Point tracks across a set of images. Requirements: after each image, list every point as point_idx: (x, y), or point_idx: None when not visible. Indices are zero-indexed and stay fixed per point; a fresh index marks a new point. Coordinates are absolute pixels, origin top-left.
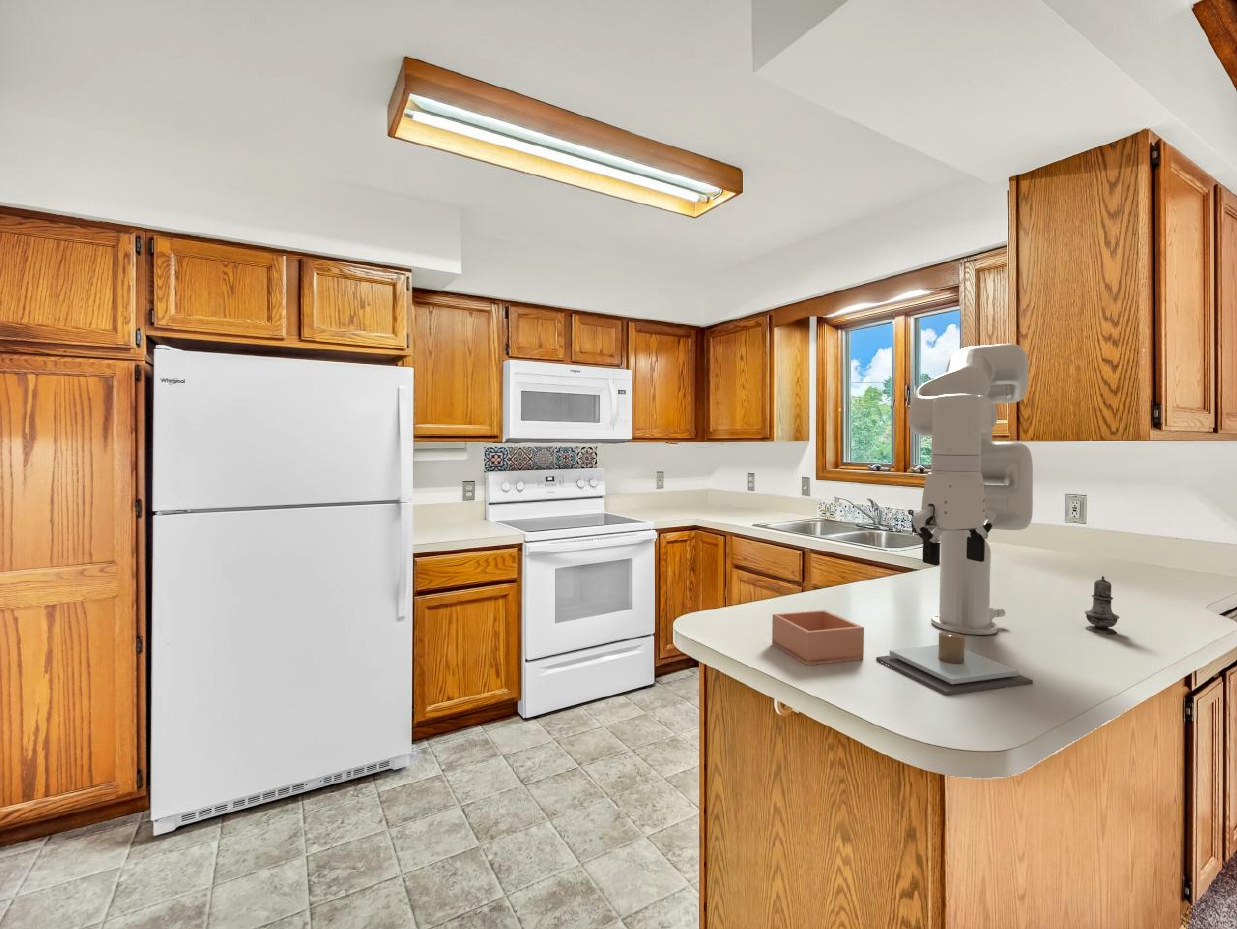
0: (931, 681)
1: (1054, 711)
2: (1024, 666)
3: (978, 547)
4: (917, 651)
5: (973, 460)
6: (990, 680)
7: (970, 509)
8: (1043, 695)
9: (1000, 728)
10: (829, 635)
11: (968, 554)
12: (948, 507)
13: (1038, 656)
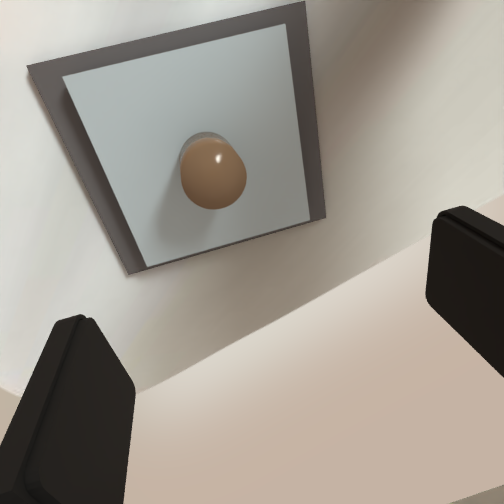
0: (120, 231)
1: (269, 308)
2: (384, 126)
3: (489, 350)
4: (148, 91)
5: None
6: None
7: None
8: (300, 259)
9: (156, 358)
10: None
11: (453, 241)
12: None
13: (470, 62)
